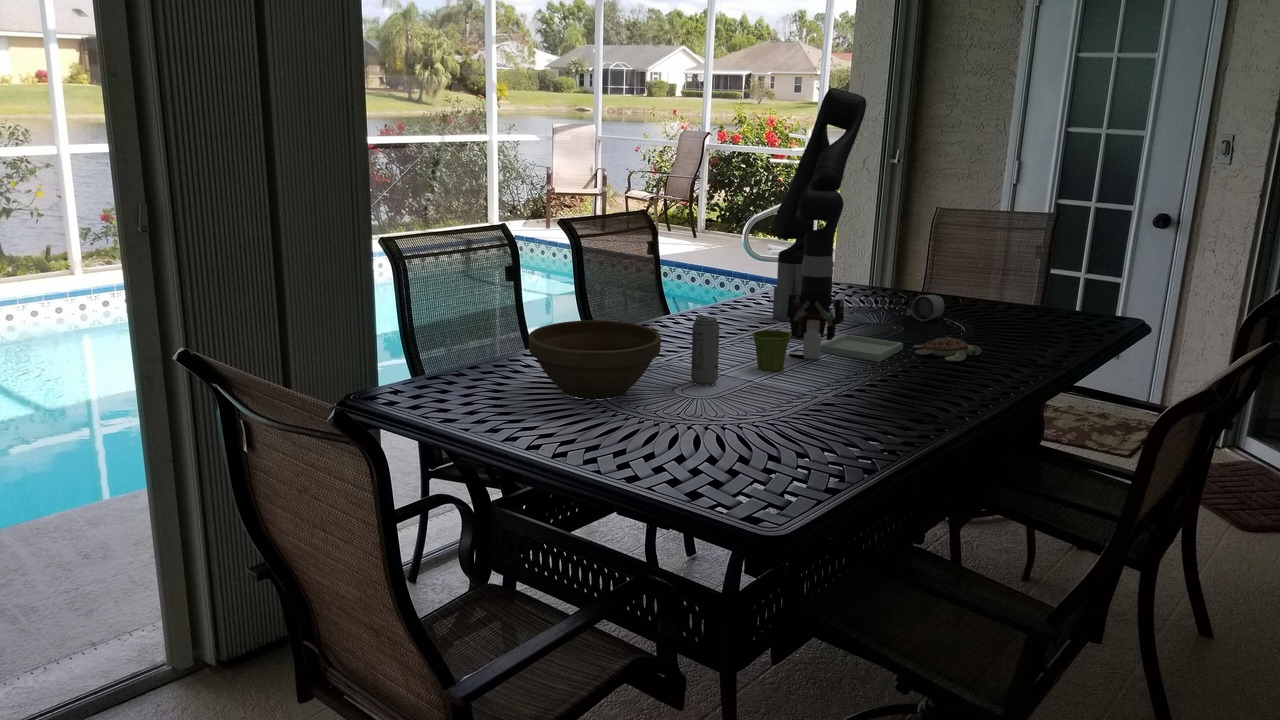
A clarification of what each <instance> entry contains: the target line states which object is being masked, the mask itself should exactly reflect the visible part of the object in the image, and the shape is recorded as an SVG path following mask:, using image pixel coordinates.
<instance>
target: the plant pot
mask: <svg viewBox="0 0 1280 720" xmlns="http://www.w3.org/2000/svg"><path fill="white" fill-rule="evenodd" d="M751 336H752V337H753V341H754V344H755V351H756V353H755V354H756V362H757V363H756V364H757V369H758V370H760V371H762V372H768V373H775V372H776V371H778V372H781V371H783V370H784V368H785V367H784V366H785V360H786V355H787V349H788V345H789V343H790V339H791V338H792V337H793V336H792V335H791V332H787V331H783V330H775V329H774V330H773V329H767V330H766V329H762V330H756V331H754V332H752V333H751Z"/></svg>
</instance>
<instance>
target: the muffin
mask: <svg viewBox="0 0 1280 720" xmlns="http://www.w3.org/2000/svg"><path fill="white" fill-rule="evenodd" d="M802 306H803V305H802V304H801V302H800V301H798V302H797V306H796V314H797V313H798V311H799V309H800V308H801V307H802ZM801 320H802V334H801V335H799V336H797V335H795V333H794V320H793V319H792V318H790V321H789V323H790V334H791V335H792V336H791V337H793V336H794V337H793V338H795V337H797V338H796V339H799V338H804V333H806V332H807V321H808V320H817V321H820V328H819V333H820V334H821V337H823V338H824V334H825V329H826V326H827V321H826V320H825V319H824V318H823V316H822V315H821V314H820V315H816V314H814V313H812V314H808V313H806V314H805V315H804V316H803V318H802V319H801Z"/></svg>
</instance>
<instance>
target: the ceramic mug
mask: <svg viewBox="0 0 1280 720" xmlns="http://www.w3.org/2000/svg"><path fill="white" fill-rule="evenodd" d="M944 310H945V301H944V300H943V299H942V297H940V296H939V295H935V294H925V295H919V296H917V297H916V298H914V299H913V301H912V303H911V307H910V309H909V310H906V311H905V315H906V317H911V315H912V316H913V317H914V318H915V320H918V321H919V320H920V321H919V322H927V321H931V320H933V319H936V318H939V317H940V316H941V315H942V314H943V313H944V312H945V311H944Z"/></svg>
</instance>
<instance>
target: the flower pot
mask: <svg viewBox="0 0 1280 720" xmlns="http://www.w3.org/2000/svg"><path fill="white" fill-rule="evenodd" d="M661 344H662V337H661V334H660V333H659V331H657V330H655V329H653V328H650V326H649V327H648V326H645V325H643V324H642V325H641V324H637V323H633V322H626V321H617V320H602V319H601V320H600V319H592V320H591V319H587V320H572V321H571V320H570V321H563V322H557V323H552V324H547V325H544V326H541V327H538V328H536V329H534V330H532V331H531V332H530V333H529V334H528V349H529V351H528V352H529V353H530V355H531V356H533V358H535V359H536V361H537V362H538V363H539V366H540V367H541V369H542V370H543V372H544V373H545V374H546V375H547V377H548V378H549V379H550V380H551V382H552V383H554V385H556V386H557V388H559V390H561V392H562V393H563V394H564V393H565V394H567V395H569V396H573V397H578V398H584V399H585V398H586V399H606V398H614V397H618V396H621V397H623V396H624V395H626V393H628V391H629V390H630V389H631V388H632V387H633V386H635V384H636V383H637V382H638V381H639V380H640V379H641V378H642V376H643V375H644V374H645V372H646V371H647V370H648V368H649V366H651V363H652V362H653V359H656V358H657V357H658V356H659V355H660V351H661V346H662V345H661ZM565 394H564V395H565ZM567 395H566V396H567ZM622 395H623V396H622ZM569 396H568V397H569ZM618 398H619V397H618Z"/></svg>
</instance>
